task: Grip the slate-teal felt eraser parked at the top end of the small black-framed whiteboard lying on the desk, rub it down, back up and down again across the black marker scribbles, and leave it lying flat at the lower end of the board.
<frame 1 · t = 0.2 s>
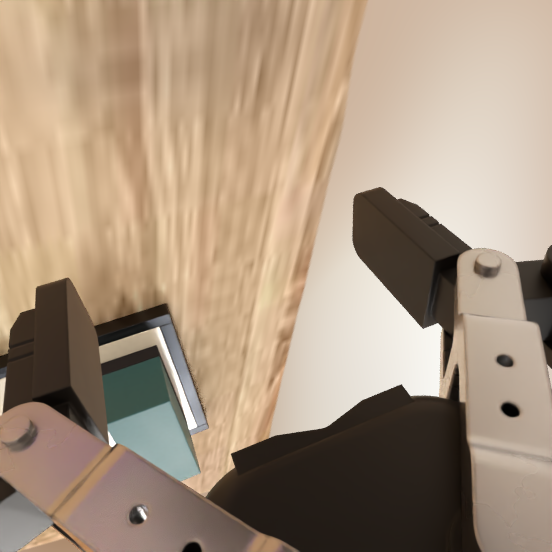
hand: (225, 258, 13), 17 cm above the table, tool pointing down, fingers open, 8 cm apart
whiteboard: (62, 414, 38), on the table
eraser: (146, 395, 39), point 1 cm above the table, touching whiteboard
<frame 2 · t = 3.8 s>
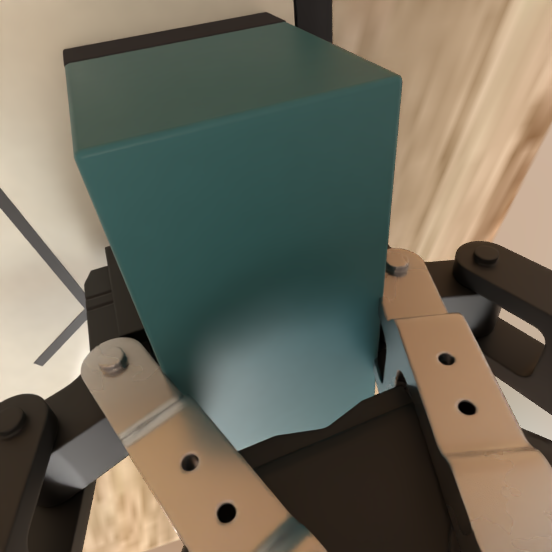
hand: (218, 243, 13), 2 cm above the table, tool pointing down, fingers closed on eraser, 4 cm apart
eraser: (214, 233, 14), point 1 cm above the table, touching gripper, whiteboard
when the fingers open (2 cm above the table, at t = 12.8 s): eraser stays where it is, resting on whiteboard.
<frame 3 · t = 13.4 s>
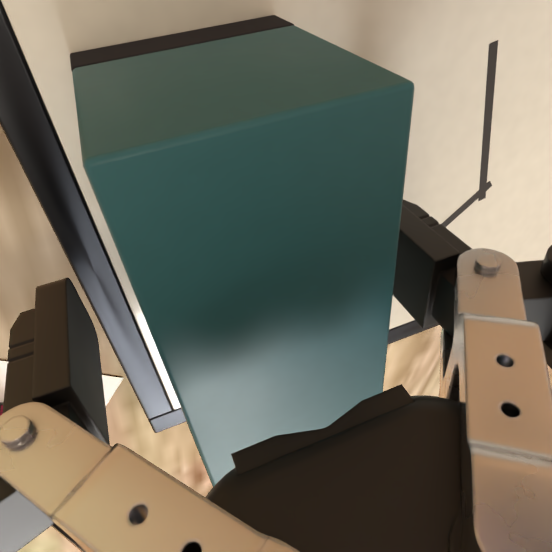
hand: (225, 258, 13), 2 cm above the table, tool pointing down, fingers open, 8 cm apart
whiteboard: (397, 162, 16), on the table
eraser: (220, 236, 13), point 1 cm above the table, touching whiteboard
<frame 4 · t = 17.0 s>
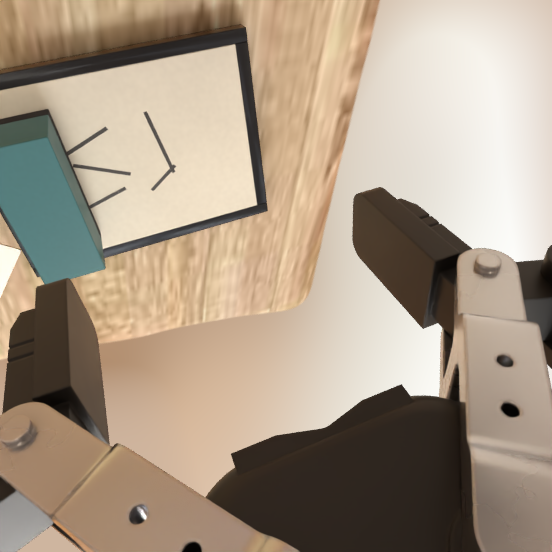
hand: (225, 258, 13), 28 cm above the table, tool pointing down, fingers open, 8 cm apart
whiteboard: (131, 156, 38), on the table
eraser: (47, 184, 36), point 1 cm above the table, touching whiteboard
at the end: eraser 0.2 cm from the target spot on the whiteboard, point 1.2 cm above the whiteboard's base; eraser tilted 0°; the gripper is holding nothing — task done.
